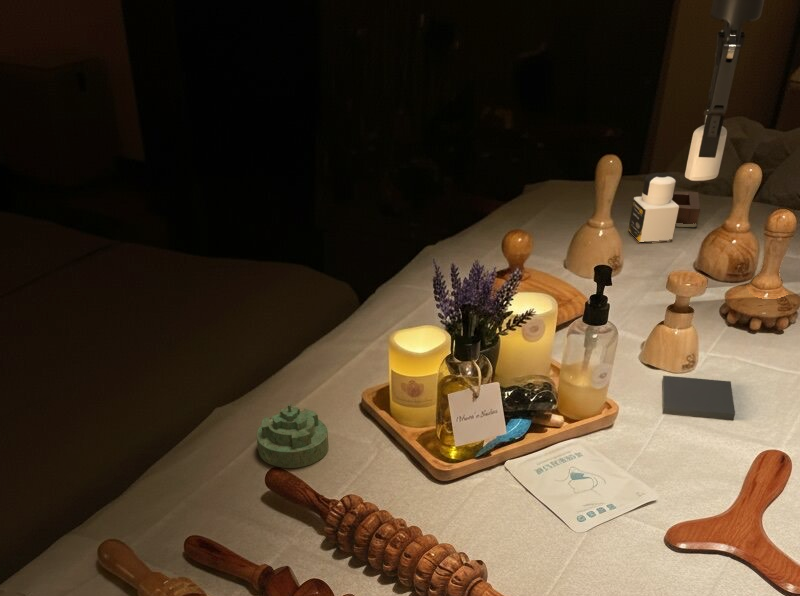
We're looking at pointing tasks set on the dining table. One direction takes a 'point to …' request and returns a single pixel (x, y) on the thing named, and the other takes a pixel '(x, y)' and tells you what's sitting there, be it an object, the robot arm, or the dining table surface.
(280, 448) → the decorative artifact
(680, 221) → the holder
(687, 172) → the eye dropper bottle
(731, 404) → the coaster
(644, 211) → the medicine bottle
